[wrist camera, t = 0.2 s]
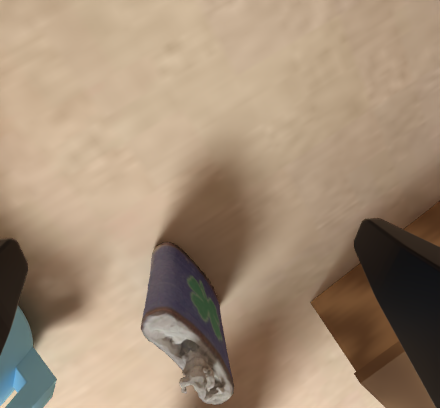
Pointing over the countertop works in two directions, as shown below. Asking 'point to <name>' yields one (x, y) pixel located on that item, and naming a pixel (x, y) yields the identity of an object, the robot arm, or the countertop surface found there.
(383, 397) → the recipe box
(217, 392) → the flask
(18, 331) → the teapot
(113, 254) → the countertop surface
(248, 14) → the countertop surface
